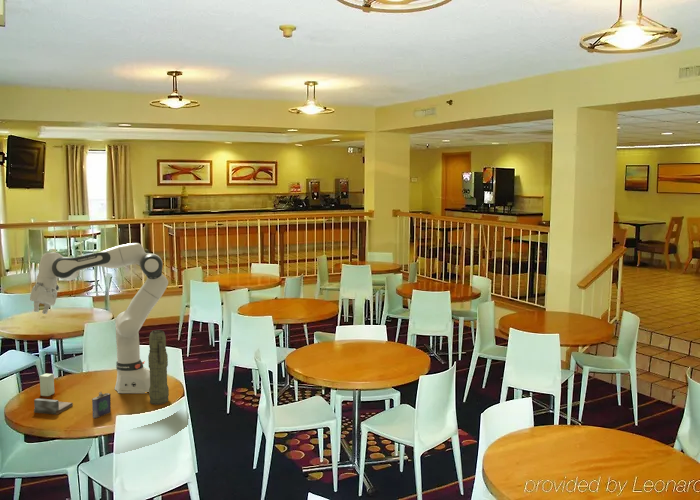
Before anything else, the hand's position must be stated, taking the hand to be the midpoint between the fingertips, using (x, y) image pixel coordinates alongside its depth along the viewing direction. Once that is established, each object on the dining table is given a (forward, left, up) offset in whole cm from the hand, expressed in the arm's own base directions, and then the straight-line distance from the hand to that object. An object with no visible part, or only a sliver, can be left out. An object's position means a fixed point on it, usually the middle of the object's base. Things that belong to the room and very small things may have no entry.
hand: (40, 312), depth 285 cm
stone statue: (-57, -7, -43) cm, 72 cm away
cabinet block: (+2, -4, -43) cm, 43 cm away
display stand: (-14, +12, -43) cm, 47 cm away
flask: (-40, +14, -43) cm, 60 cm away
